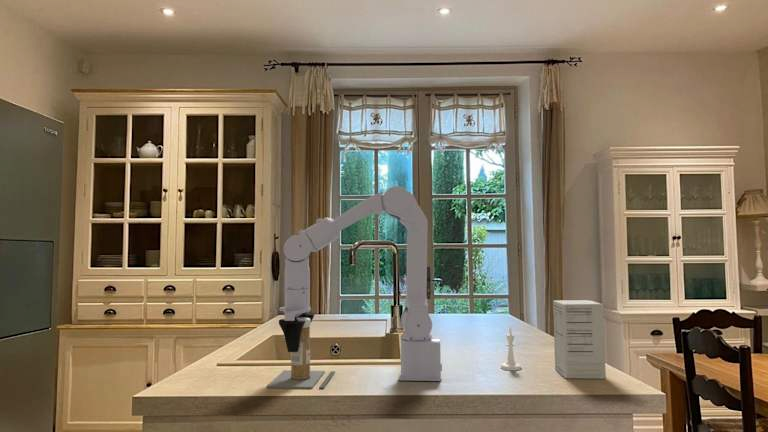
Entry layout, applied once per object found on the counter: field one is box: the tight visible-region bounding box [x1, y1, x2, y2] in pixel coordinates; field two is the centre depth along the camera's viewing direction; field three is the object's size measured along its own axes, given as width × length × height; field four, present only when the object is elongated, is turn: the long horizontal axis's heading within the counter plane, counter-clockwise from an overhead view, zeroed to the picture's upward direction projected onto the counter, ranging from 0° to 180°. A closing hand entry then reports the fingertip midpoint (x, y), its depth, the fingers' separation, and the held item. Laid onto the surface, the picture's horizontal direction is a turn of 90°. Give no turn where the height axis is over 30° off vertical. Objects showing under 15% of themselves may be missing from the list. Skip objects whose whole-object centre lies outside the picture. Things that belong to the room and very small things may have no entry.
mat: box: [265, 369, 326, 390], centre depth 121 cm, size 10×14×1 cm
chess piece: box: [500, 326, 522, 371], centre depth 131 cm, size 5×5×10 cm
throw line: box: [318, 370, 336, 390], centre depth 121 cm, size 1×14×1 cm, turn 175°
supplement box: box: [552, 299, 607, 380], centre depth 125 cm, size 10×9×17 cm
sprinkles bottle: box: [290, 318, 312, 380], centre depth 122 cm, size 5×5×13 cm
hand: (297, 348), depth 122 cm, fingers open, 7 cm apart
